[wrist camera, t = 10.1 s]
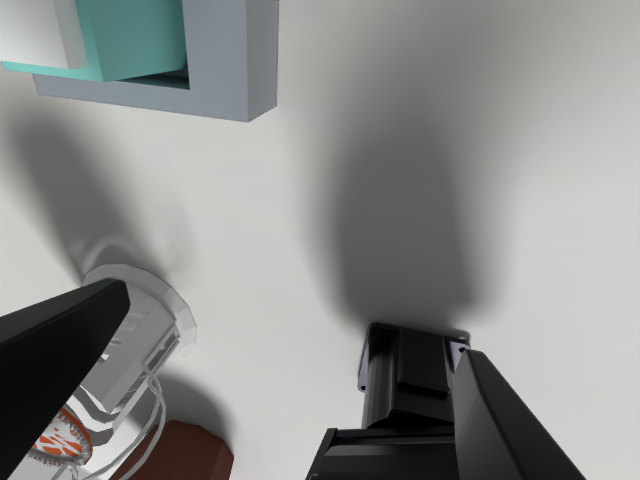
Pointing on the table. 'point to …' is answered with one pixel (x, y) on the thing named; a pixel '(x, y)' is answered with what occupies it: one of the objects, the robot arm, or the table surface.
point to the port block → (200, 67)
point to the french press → (121, 372)
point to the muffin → (179, 455)
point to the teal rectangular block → (92, 38)
